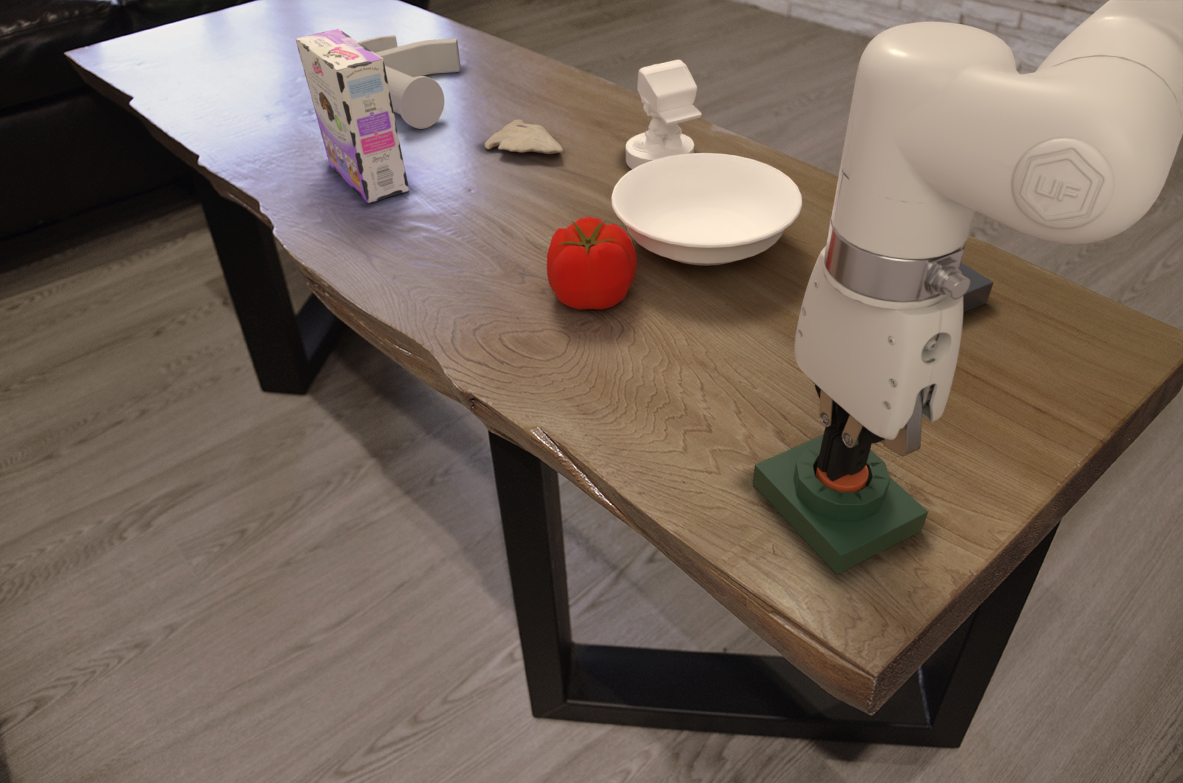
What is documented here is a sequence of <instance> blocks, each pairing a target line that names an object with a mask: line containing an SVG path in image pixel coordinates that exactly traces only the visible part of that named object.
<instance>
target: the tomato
mask: <svg viewBox="0 0 1183 783" xmlns="http://www.w3.org/2000/svg"><path fill="white" fill-rule="evenodd" d="M630 237H631V236H630V234H629V233H627V232H626V231H625V230H624V228H622V227H621V226H619V225H618V224H617V223H609V224H607V220H606V221H603V220H602V219H601V218H597V217H594V216H586V217H580V218H578V219H577V220H575V221H573V220H571V224H570V225H568V226H567V227H566V228H558V229H557V230H556V231H554V233H553V234H552V236H551V240H550V242H549V246H548V250H547V254H546V275H547V280H548V285H549V286H550V288H551V290H552V292H554V294H555V297H556V298H557V300H558V301H559V302H560V303H561V304H563V305H565V306H567V307H569V308H572V309H575V310H579V311H580V310H600V311H602V310H607V309H609V308H613V307H615V306H616V305H617V304H619V303H621V302H622V301H623V300H625V299H626V296H627V295H628V294H627V293H628V291H629V288H630V287H631V285H632V284H633V281H634V279H635V277H636V275H637V266H638V258H637V253H636V248H635V246H634V243H633V241H632V239H631V238H630Z"/></svg>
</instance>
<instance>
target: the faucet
mask: <svg viewBox="0 0 1183 783" xmlns="http://www.w3.org/2000/svg"><path fill="white" fill-rule="evenodd" d="M397 40H398V39H397V36H396V35H395V34H394V35H382V36H376V37H372V38H369V39H365V40H360V41H358V42H359V43H360V44H362V45H363V46H365V47H366V48H368V49H369V50H371V51H372V52H374V53H375V54H377V55H378V56H380V57H381V58H383V59H384V65H385V70H386V75H387V80H388V85H389V91H390V95H391V100H392V105H393V111H394V113H396V114H399V115H400V116H401V118H402V120H403V121H404V122H405V123H406V124H407V125H409V126H411V127H413V128H415V129H419V130H420V129H421V130H422V129H428V128H430V127H432V126H433V125H435V124H436V123H437V122H438V120H440V118H441V116H442V114H443V111H444V108H445V94H444V91H443V89H442V88H443V87H441V85H440V84H439V82H437V81H436V80H435V79H434V78H431V77H429V76H428V75H433V74H434V75H435V74H448V73H459V72H461V70H462V69H461V68H462V67H461V57H460V49H459V42H458V37H456V38H455V37H454V38H440V39H427V40H421V41H415V42H412V43H408V44H403V45H399V46H398V41H397Z"/></svg>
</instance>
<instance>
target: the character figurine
mask: <svg viewBox="0 0 1183 783" xmlns="http://www.w3.org/2000/svg"><path fill="white" fill-rule="evenodd" d="M636 86H637V88H636V89H637V93H638V94H639V97H640V101H641V104H643V106H642V107H643V108H642V109H643V112H644V113H645V114H646V115H647V117H651V119H650V122H649V124H648V126H647V128H648V129H647V130H646V131H644V132H641V133H639V134H636V135H634V136H632V137H630V138H629V139H628V140H627V141H626V144H625V164H626V165H627V166H628V168H629V169H631V170H633V169H634V168H636V167H638V166H640V165H642V164H645V163H647V162H650V161H653V160H656V159H660V158H664V157H668V156H674V155H681V154H692V153H695V143H694V140H693V139H692V138H691V137H690V136H689V135H687V134H684V133H682V132H683V131H682V128H681V127H680V125H679V124H680V123H685V122H688V121H693V120H696V119H700V118H702V115H703V114H702V112H701V111H700V110H699V109H698V108H697V107H696V106H695V105H694V103H695V101H696V96H697V92H698V85H697V83H696V82H695V79H694V78H693V75H692V73H691V72H690V70H689V68H688V66H687V64H686V63H684V62H683V60H681V59H674V60H669V61H666V62H662V63H661V62H660V63H654V64H652V65H648V66H642V67H641V68H639V70H638V74H637V84H636Z"/></svg>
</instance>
